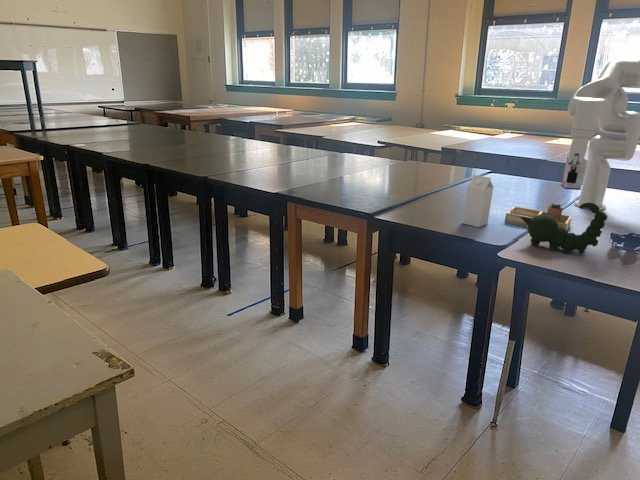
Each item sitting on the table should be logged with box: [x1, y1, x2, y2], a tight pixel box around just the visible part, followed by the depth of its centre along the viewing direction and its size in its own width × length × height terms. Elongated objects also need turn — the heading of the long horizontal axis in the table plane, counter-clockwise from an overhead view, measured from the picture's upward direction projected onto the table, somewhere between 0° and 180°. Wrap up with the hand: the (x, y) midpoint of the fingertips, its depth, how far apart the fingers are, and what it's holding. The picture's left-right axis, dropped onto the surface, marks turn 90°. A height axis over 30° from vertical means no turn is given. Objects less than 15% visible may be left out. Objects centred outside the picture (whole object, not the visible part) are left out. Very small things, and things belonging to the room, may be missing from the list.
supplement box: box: [560, 156, 588, 191], centre depth 183 cm, size 6×6×12 cm
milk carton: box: [461, 173, 494, 228], centre depth 185 cm, size 7×7×19 cm
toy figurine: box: [521, 203, 608, 255], centre depth 162 cm, size 9×19×25 cm
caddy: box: [504, 202, 573, 231], centre depth 189 cm, size 13×22×9 cm, turn 56°
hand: (572, 180), depth 184 cm, fingers closed on supplement box, 7 cm apart
